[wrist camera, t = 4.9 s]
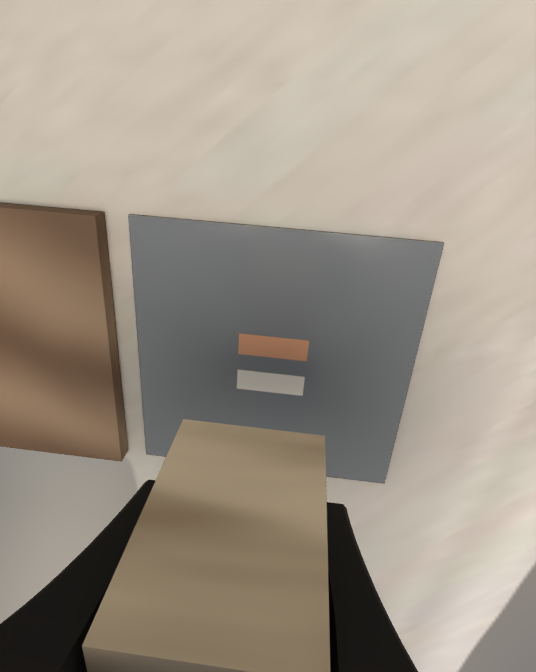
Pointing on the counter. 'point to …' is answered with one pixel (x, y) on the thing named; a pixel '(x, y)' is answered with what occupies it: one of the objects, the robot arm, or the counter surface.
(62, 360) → the board
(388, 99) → the counter surface
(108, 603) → the maple block
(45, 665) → the robot arm
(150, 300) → the tile
